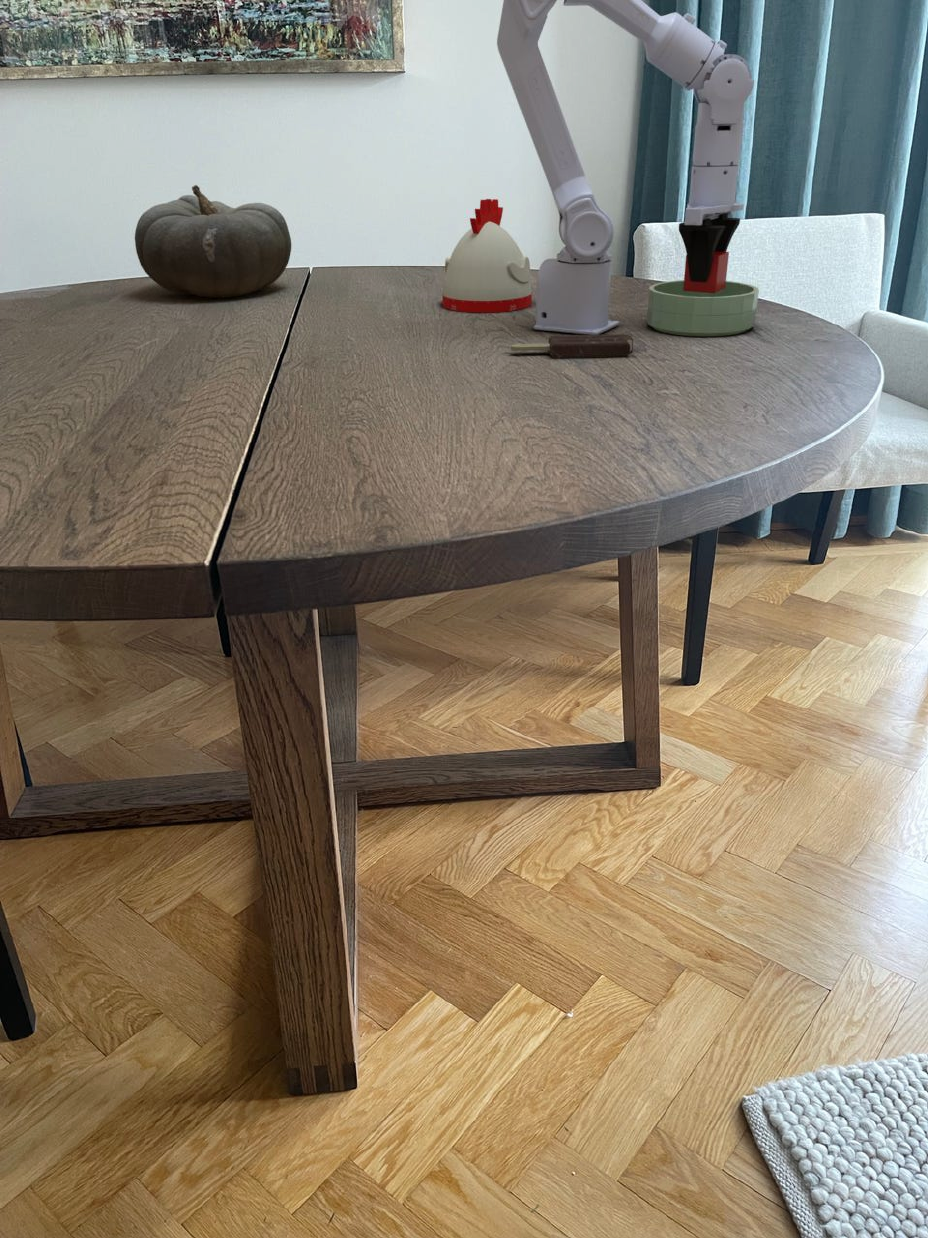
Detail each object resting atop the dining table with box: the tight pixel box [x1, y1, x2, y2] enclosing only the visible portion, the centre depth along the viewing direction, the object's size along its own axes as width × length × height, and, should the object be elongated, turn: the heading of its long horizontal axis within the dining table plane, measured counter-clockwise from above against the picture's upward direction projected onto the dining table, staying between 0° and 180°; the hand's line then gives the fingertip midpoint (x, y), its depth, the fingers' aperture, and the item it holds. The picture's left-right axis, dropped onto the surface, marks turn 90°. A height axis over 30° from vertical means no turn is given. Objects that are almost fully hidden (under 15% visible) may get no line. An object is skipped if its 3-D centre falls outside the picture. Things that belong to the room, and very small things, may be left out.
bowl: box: [646, 279, 760, 337], centre depth 126 cm, size 14×14×5 cm
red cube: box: [683, 251, 730, 293], centre depth 123 cm, size 4×4×5 cm
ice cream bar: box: [510, 333, 634, 359], centre depth 114 cm, size 5×2×15 cm
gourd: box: [134, 184, 292, 299], centre depth 157 cm, size 25×25×17 cm
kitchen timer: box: [441, 198, 533, 314], centre depth 141 cm, size 14×14×15 cm
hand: (704, 278), depth 124 cm, fingers closed on red cube, 4 cm apart
